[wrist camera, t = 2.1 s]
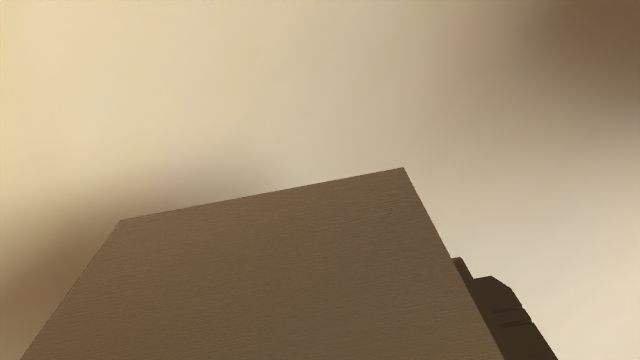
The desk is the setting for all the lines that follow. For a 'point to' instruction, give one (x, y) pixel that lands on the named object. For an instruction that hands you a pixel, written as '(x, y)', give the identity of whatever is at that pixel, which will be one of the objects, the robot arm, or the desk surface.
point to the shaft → (275, 283)
